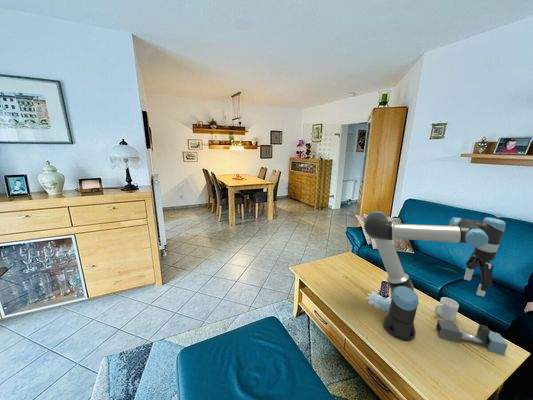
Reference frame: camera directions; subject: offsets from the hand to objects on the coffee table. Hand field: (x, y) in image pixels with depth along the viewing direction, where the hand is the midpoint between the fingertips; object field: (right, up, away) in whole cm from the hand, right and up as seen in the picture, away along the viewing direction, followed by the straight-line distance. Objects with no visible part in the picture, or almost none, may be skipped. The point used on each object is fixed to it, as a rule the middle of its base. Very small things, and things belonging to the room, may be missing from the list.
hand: (473, 287), depth 112 cm
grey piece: (+1, -29, +2) cm, 28 cm away
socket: (+9, -30, -1) cm, 31 cm away
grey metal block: (-9, -28, +6) cm, 30 cm away
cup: (0, -25, +19) cm, 32 cm away
